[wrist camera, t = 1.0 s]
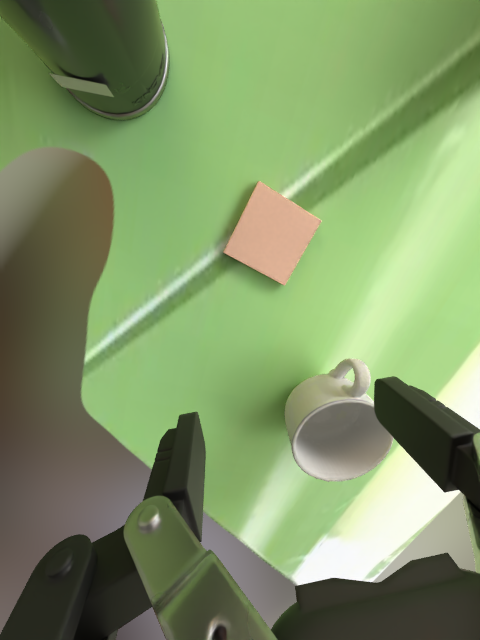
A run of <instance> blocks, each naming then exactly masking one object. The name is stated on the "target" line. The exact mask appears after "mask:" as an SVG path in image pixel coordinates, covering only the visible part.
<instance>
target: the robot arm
mask: <svg viewBox="0 0 480 640" xmlns="http://www.w3.org/2000/svg"><path fill="white" fill-rule="evenodd" d="M0 16H1V17H2V18H3V20H4V21H5V22H6V23H7V24H8V25H9V26H10V27H11V28H12V29H13V30H14V31H15V32H16V33H17V35H18V36H19V37H20V38H21V39H22V40H23V41H24V42H25V43H26V44H27V45H28V46H29V47H30V48H31V49H32V51H33V52H34V53H35V54H36V55H37V56H38V57H39V58H40V59H41V60H42V61H43V62H44V64H45V65H46V66H47V67H48V68H49V69H50V70H51V71H52V72H53V73H54V74H50V73H49V74H50V75H51V76H52V77H53V78H54V79H55V80H56V81H57V82H58V83H59V84H60V86H61V87H65V88H66V89H67V90H68V91H69V92H70V93H71V94H72V95H73V96H74V97H75V98H76V99H77V100H78V101H79V102H80V103H81V104H82V105H83V106H85V107H86V108H87V109H89V110H90V111H92V112H94V113H96V114H98V115H100V116H102V117H105V118H109V119H113V120H129V119H134V118H137V117H139V116H141V115H143V114H145V113H146V112H148V111H149V110H150V109H151V108H153V106H154V105H155V104H156V103H157V102H158V100H159V99H160V97H161V95H162V93H163V91H164V89H165V86H166V83H167V79H168V73H169V50H168V44H167V39H166V35H165V31H164V27H163V24H162V21H161V19H160V15H159V10H158V6H157V1H156V0H0ZM374 411H375V415H376V417H377V419H378V421H379V422H380V424H381V425H382V426H383V427H384V428H385V429H386V430H387V431H388V432H389V433H390V434H391V435H392V437H393V438H394V439H395V440H396V441H397V442H398V443H399V444H400V445H401V446H402V447H403V448H404V449H405V451H406V452H407V453H408V454H409V455H410V456H411V457H412V458H413V459H414V460H415V461H416V462H417V463H418V464H419V466H420V467H421V468H422V469H423V470H424V471H425V472H426V473H427V474H428V475H429V476H430V477H431V478H432V480H433V481H434V482H435V483H436V484H437V485H438V486H439V487H440V488H441V489H442V490H443V491H444V492H449V491H454V490H460V491H461V492H462V493H463V494H464V497H463V505H464V510H465V514H466V519H467V524H468V529H469V534H470V538H471V543H472V548H473V553H474V558H475V568H476V572H473V571H470V570H465V569H460V568H459V567H458V566H457V564H456V563H455V562H454V561H453V559H452V558H451V557H450V555H449V554H448V553H444V554H440V555H435V556H431V557H426V558H421V559H417V560H412V561H410V562H409V563H407V564H406V565H404V566H403V567H402V568H400V569H399V570H397V571H396V572H394V573H393V574H392V575H390V576H389V577H387V578H386V579H385V580H383V581H382V582H379V583H373V582H364V581H356V580H348V579H339V578H330V579H326V580H321V581H317V582H312V583H308V584H303V585H298V586H295V590H296V597H297V602H296V603H295V604H293V605H292V606H290V607H289V608H288V609H287V610H286V611H285V612H284V613H283V614H282V615H281V617H280V618H279V619H278V620H277V621H276V623H275V624H274V625H273V627H272V629H271V630H270V629H269V627H268V626H267V624H266V623H265V622H264V621H263V619H262V618H261V616H260V615H259V613H258V612H257V611H256V609H255V608H254V606H253V605H252V604H251V602H250V601H249V600H248V598H247V597H246V596H245V594H244V593H243V591H242V590H241V589H240V587H239V586H238V585H237V583H236V582H235V581H234V579H233V578H232V576H231V575H230V574H229V572H228V571H227V569H226V568H225V567H224V565H223V564H222V563H221V561H220V560H219V559H218V557H217V556H216V555H215V554H214V553H213V551H211V550H208V551H206V550H205V549H204V548H203V546H202V545H201V543H200V542H201V539H202V518H203V500H204V479H205V459H206V450H205V441H204V437H203V432H202V428H201V424H200V419H199V415H198V413H197V412H192V413H187V414H181V415H180V416H179V419H178V424H177V428H174V429H169V430H168V431H167V432H166V433H165V435H164V436H163V437H162V439H161V440H160V444H159V447H158V453H157V454H156V458H155V462H154V465H153V468H152V472H151V475H150V479H149V482H148V486H147V489H146V492H145V496H144V499H143V502H142V503H140V504H139V505H138V506H137V507H136V508H135V509H134V510H133V511H132V513H131V514H130V515H129V517H128V519H127V521H126V524H125V525H124V526H122V527H121V528H119V529H117V530H116V531H114V532H112V533H110V534H108V535H106V536H104V537H102V538H100V539H98V540H97V541H95V542H93V543H91V541H90V539H89V538H88V537H87V536H85V535H74V536H71V537H68V538H66V539H64V540H63V541H61V542H60V543H58V544H57V545H55V546H54V547H53V548H52V549H51V550H50V551H49V552H48V553H47V554H46V555H45V556H44V557H43V558H42V559H41V560H40V562H39V563H38V565H37V566H36V567H35V569H34V571H33V573H32V574H31V576H30V578H29V580H28V582H27V584H26V586H25V588H24V590H23V592H22V594H21V596H20V598H19V599H18V601H17V603H16V605H15V607H14V609H13V611H12V613H11V615H10V617H9V619H8V621H7V623H6V625H5V626H4V628H3V630H2V632H1V634H0V640H116V636H117V631H118V629H119V628H121V627H122V626H124V625H125V624H127V623H128V622H130V621H131V620H133V619H134V618H136V617H137V616H139V615H140V614H142V613H143V612H145V611H146V610H148V609H149V608H151V607H153V609H154V612H155V614H156V616H157V619H158V621H159V624H160V626H161V629H162V631H163V633H164V636H165V638H166V640H480V429H478V428H477V427H475V426H474V425H472V424H471V423H470V422H468V421H467V420H465V419H464V418H462V417H461V416H459V415H458V414H457V413H455V412H454V411H452V410H451V409H449V408H448V407H445V405H444V404H442V403H441V402H439V401H436V399H435V398H433V397H432V396H431V395H429V394H428V393H426V392H425V391H423V390H420V389H418V388H415V387H413V386H408V385H407V384H405V383H404V382H403V381H401V380H400V379H398V378H397V377H394V376H393V377H387V378H382V379H377V380H376V381H375V389H374Z"/></svg>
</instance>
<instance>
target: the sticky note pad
mask: <svg viewBox="0 0 480 640" xmlns="http://www.w3.org/2000/svg"><path fill="white" fill-rule="evenodd" d="M320 223H321V220H320V219H318V218H317V217H315V216H314V215H312V214H310V213H309V212H307V211H306V210H304V209H303V208H301V207H299V206H298V205H296V204H295V203H293V202H292V201H290V200H288V199H287V198H285V197H284V196H282V195H281V194H279V193H278V192H276V191H274V190H273V189H271V188H270V187H268V186H267V185H265V184H263V183H262V182H260V181H258V182H257V184H256V186H255V188H254V190H253V192H252V194H251V197H250V199H249V201H248V203H247V205H246V207H245V209H244V211H243V213H242V215H241V217H240V219H239V221H238V223H237V225H236V227H235V229H234V231H233V233H232V235H231V237H230V239H229V241H228V243H227V245H226V247H225V249H224V251H223V253H225V254H227V255H229V256H231V257H232V258H234V259H236V260H238V261H240V262H242V263H244V264H245V265H247V266H249V267H251V268H253V269H255V270H257V271H258V272H260V273H262V274H264V275H266V276H268V277H270V278H271V279H273V280H275V281H277V282H279V283H281V284H283V285H285V284H286V283H287V281H288V279H289V277H290V276H291V274H292V272H293V270H294V269H295V267H296V265H297V263H298V262H299V260H300V258H301V256H302V254H303V253H304V251H305V249H306V247H307V246H308V244H309V242H310V240H311V239H312V237H313V235H314V233H315V232H316V230H317V228H318V226H319V225H320Z"/></svg>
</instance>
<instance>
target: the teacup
mask: <svg viewBox="0 0 480 640" xmlns="http://www.w3.org/2000/svg"><path fill="white" fill-rule="evenodd" d="M352 368H353V370H354V373H355V381H354V382H352V381H351V380H349V379H347V378H344V376H345V375H346V374H347V373H348V371H349V370H350V369H352ZM370 382H371V376H370V372H369V369H368V367H367V366H366V364H365V363H364V362H363V361H361V360H358V359H345V360H343V361H342V362H340V363H339V364H338V365H337V366H336V368H335V369H333V370H331V371H330V372H329V374H322V375H316V376H313V377H310V378H308V379H306V380H304V381H302V382H301V383H300V384H299V385H297V386H296V387H295V388H294V389H293V391H292V392H291V393H290V395H289V397H288V399H287V401H286V405H285V413H284V417H285V424H286V428H287V432H288V436H289V439H290V442H291V446H292V453H293V456H294V459H295V461H296V463H297V464H298V466H299V467H300V468H301V469H302V470H303V471H304V472H305V473H307V474H308V475H310V476H313V477H315V478H317V479H321V480H324V481H328V482H329V481H345V480H351V479H354V478H356V477H359V476H362V475H364V474H365V473H367V472H369V471H370V470H372V469H373V468H375V467H376V466H377V465H378V464H380V462H381V461H382V460H383V459H384V458H385V457H386V455H387V454H388V452H389V450H390V448H391V446H392V441H393V437H392V435H391V434H390V433H389V432H388V431H387V430H386V429H385V428H384V427H383V426H382V425H381V424H380V422H379V421H378V419H377V417H376V415H375V411H374V401H373V400H372V399H371V398H370V397H369V396H368V395H367V394H366V392H367V390H368V388H369V386H370Z"/></svg>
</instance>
